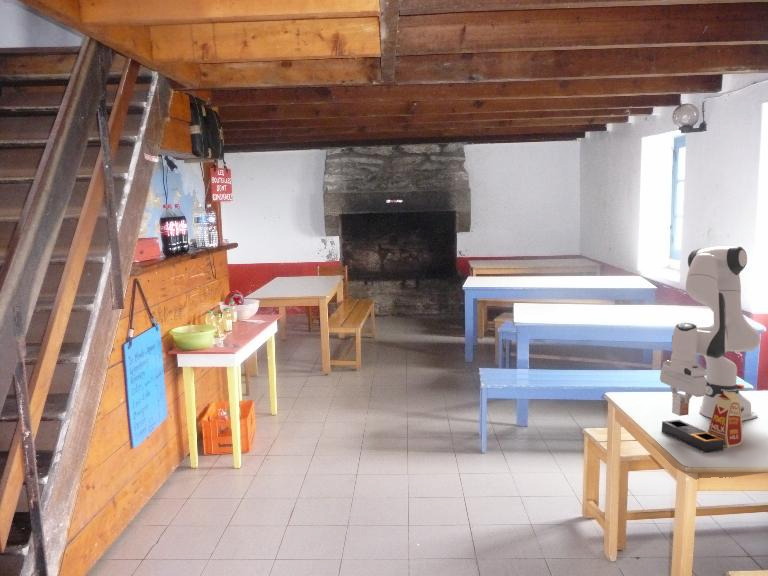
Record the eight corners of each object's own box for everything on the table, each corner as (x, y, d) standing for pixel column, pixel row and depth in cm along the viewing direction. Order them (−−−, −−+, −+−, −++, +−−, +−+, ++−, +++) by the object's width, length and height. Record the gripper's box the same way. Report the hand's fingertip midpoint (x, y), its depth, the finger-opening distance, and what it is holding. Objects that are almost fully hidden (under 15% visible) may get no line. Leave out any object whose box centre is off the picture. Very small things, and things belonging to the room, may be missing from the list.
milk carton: (727, 447, 219) (731, 394, 217) (705, 439, 228) (708, 388, 225) (744, 444, 223) (748, 392, 220) (721, 435, 231) (725, 385, 229)
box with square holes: (678, 429, 238) (679, 419, 237) (723, 450, 217) (724, 439, 216) (661, 431, 236) (662, 420, 235) (705, 452, 214) (705, 441, 214)
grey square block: (680, 411, 234) (681, 391, 233) (688, 414, 231) (689, 394, 230) (672, 412, 233) (672, 392, 232) (679, 415, 230) (680, 395, 229)
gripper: (657, 359, 238) (654, 392, 240) (696, 374, 219) (693, 410, 221) (670, 358, 240) (668, 391, 242) (710, 372, 220) (707, 408, 223)
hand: (680, 400), depth 231 cm, fingers closed on grey square block, 4 cm apart
